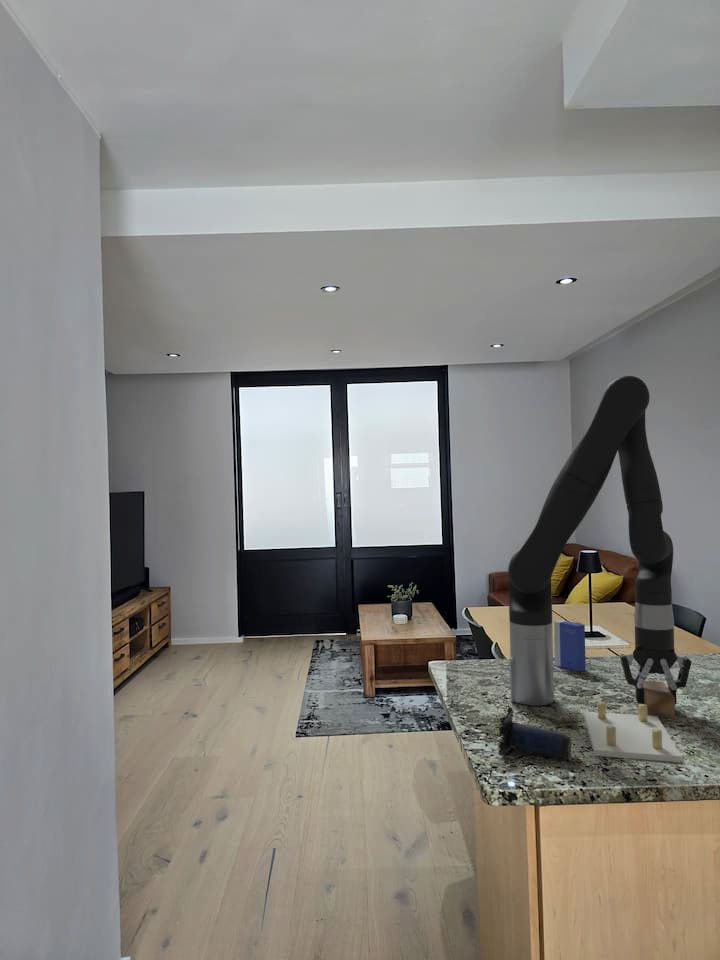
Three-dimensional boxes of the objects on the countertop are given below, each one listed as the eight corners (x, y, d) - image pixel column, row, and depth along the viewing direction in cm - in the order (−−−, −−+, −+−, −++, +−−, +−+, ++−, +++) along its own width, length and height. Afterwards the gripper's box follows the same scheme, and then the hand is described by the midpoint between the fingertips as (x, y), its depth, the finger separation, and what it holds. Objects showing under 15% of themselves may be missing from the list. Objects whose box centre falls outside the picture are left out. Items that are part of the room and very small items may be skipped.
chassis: (594, 755, 114) (594, 732, 114) (583, 716, 134) (583, 696, 134) (681, 762, 111) (681, 738, 111) (657, 721, 130) (657, 701, 130)
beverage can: (496, 763, 115) (568, 778, 110) (496, 723, 114) (568, 736, 109) (507, 736, 123) (573, 748, 118) (506, 698, 122) (574, 709, 117)
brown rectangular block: (648, 718, 132) (647, 696, 132) (638, 701, 143) (638, 680, 143) (675, 720, 131) (674, 697, 131) (663, 702, 142) (663, 681, 142)
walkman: (585, 670, 167) (584, 623, 167) (578, 672, 166) (577, 624, 166) (561, 663, 174) (560, 618, 174) (554, 665, 172) (553, 619, 172)
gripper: (686, 621, 139) (688, 702, 139) (615, 619, 142) (616, 698, 142) (695, 629, 132) (698, 714, 132) (620, 627, 135) (622, 709, 135)
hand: (655, 705), depth 137 cm, fingers closed on brown rectangular block, 5 cm apart
